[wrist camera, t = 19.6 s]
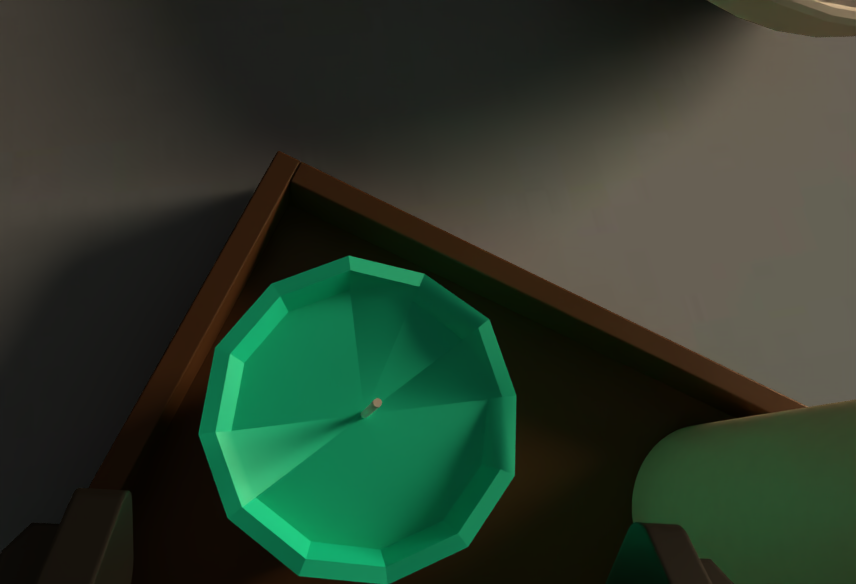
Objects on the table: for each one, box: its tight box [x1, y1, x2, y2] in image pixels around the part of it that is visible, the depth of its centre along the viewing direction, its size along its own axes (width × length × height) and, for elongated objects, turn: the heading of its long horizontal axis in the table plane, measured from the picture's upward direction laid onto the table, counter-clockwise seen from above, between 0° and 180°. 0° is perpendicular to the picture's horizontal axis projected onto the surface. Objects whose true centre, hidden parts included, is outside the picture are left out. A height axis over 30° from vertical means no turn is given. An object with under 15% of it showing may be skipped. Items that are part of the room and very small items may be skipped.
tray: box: [89, 151, 807, 584], centre depth 24 cm, size 26×15×3 cm, turn 67°
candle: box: [198, 256, 516, 584], centre depth 18 cm, size 6×6×12 cm
